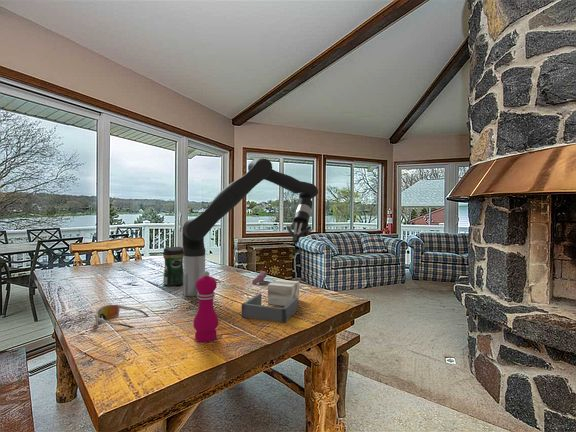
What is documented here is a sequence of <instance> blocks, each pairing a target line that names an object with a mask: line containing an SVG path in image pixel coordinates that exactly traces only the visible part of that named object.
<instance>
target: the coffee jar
mask: <svg viewBox="0 0 576 432" xmlns="http://www.w3.org/2000/svg"><path fill="white" fill-rule="evenodd" d="M162 256H163V259H164V271H163V281H162V283H163V285H164V286H169V287H172V286H179V285H183V272H184V250H183V246H170V247H164V248H163V253H162Z"/></svg>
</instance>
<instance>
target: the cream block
mask: <svg viewBox="0 0 576 432" xmlns="http://www.w3.org/2000/svg"><path fill="white" fill-rule="evenodd" d="M295 297H298V301H299V300H300V281H298V280H297V281H296V280H287V279H276V280H273V281H272V282H270V283H268V285H267V305H273V306H282V307H285V306H286V305H287V304H288V303H289V302H290V301H291V300H293V299H294V298H295Z"/></svg>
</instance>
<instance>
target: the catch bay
mask: <svg viewBox="0 0 576 432" xmlns="http://www.w3.org/2000/svg"><path fill="white" fill-rule="evenodd" d="M298 309H299V300H298V297H295V298H294V299H293V300H291V301H290V302H289V303H288V304H287V305H286V306H283V307H277V306H269V305H262V293H257V294H255V295H254V296H253V297H251V298H250V299H248V300H246V301H245V302H243V303H241V313H240V314H241V317H242V318H248V319H255V320H263V321H271V322H278V323H286V322H287V321H289V319H290V318H291V317H292V316H293V315H294V314H295V313H296V312H297V311H298Z"/></svg>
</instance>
